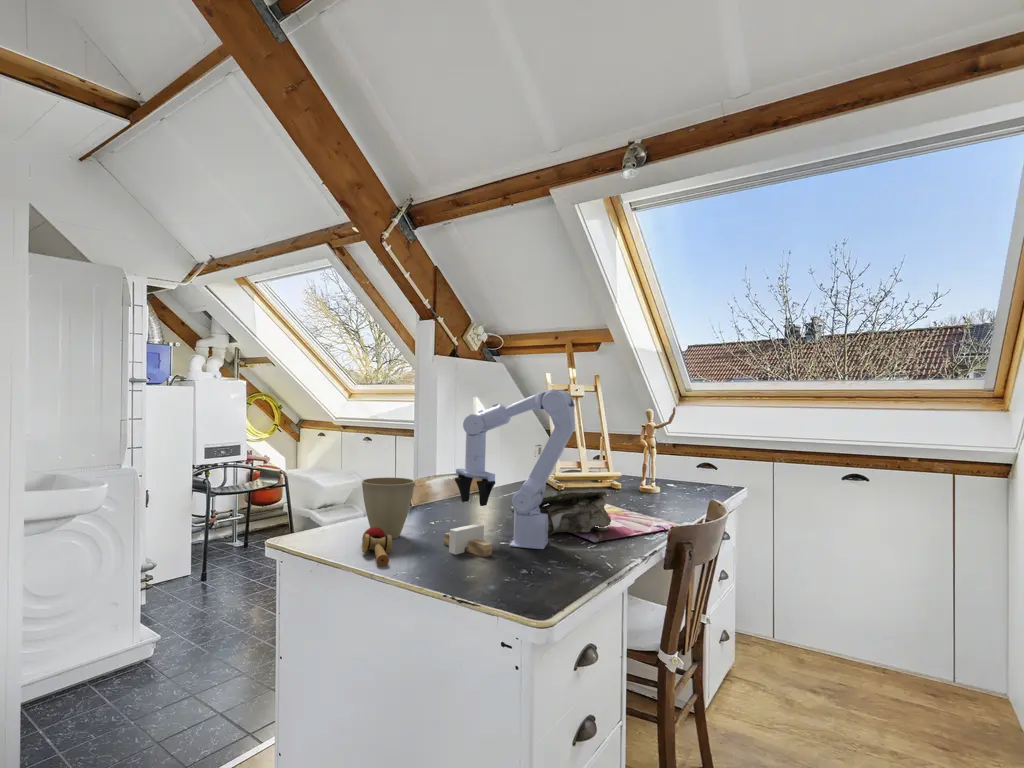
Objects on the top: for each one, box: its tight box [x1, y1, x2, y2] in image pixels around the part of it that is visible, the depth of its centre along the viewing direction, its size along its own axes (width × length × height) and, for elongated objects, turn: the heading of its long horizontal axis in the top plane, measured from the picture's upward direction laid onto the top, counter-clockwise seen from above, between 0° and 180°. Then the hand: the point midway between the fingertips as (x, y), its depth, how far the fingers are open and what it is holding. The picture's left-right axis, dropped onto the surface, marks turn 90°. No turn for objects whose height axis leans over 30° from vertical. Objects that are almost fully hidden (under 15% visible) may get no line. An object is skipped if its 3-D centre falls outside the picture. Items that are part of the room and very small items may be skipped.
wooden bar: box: [443, 531, 493, 558], centre depth 147 cm, size 16×2×3 cm, turn 47°
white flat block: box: [448, 523, 485, 556], centre depth 146 cm, size 2×10×6 cm, turn 137°
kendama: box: [361, 527, 393, 567], centre depth 140 cm, size 8×6×18 cm
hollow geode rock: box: [539, 490, 612, 536], centre depth 168 cm, size 28×13×15 cm
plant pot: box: [361, 476, 416, 540], centre depth 158 cm, size 15×15×16 cm
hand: (474, 503), depth 159 cm, fingers open, 7 cm apart
